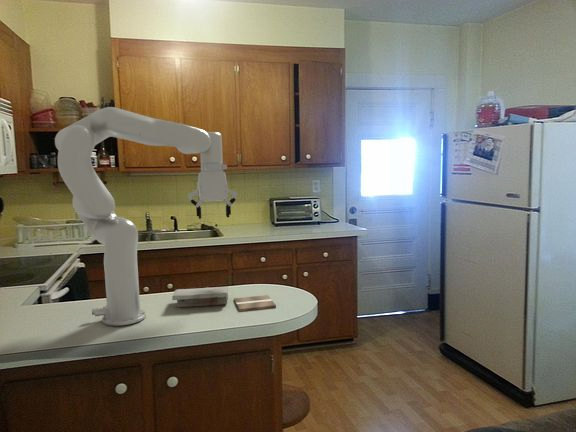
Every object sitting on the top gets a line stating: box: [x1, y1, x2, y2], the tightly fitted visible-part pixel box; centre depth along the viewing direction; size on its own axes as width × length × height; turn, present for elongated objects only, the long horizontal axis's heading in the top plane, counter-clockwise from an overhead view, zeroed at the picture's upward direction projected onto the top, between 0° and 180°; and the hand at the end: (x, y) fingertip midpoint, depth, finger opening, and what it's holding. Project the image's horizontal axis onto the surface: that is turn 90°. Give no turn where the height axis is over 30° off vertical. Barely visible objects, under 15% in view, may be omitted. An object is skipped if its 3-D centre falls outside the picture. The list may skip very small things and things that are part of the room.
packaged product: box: [171, 286, 229, 308], centre depth 149 cm, size 18×5×10 cm
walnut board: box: [233, 294, 277, 312], centre depth 149 cm, size 12×12×1 cm
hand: (213, 217), depth 155 cm, fingers open, 9 cm apart
